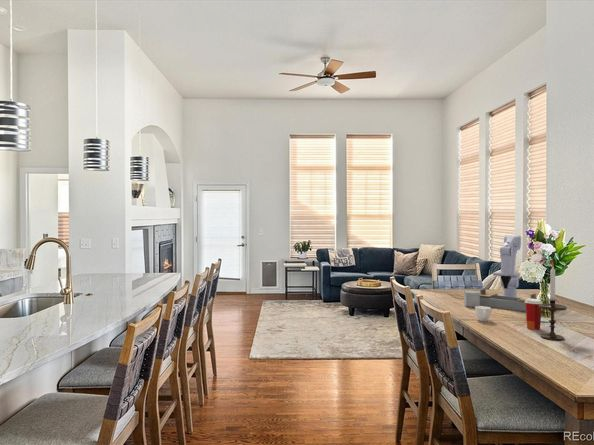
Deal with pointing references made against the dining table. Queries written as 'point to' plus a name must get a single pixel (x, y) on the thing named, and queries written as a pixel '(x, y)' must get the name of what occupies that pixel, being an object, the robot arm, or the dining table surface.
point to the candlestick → (552, 309)
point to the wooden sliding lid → (486, 293)
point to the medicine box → (472, 299)
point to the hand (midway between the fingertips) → (505, 288)
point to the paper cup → (533, 313)
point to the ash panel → (527, 298)
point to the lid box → (503, 302)
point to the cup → (483, 313)
